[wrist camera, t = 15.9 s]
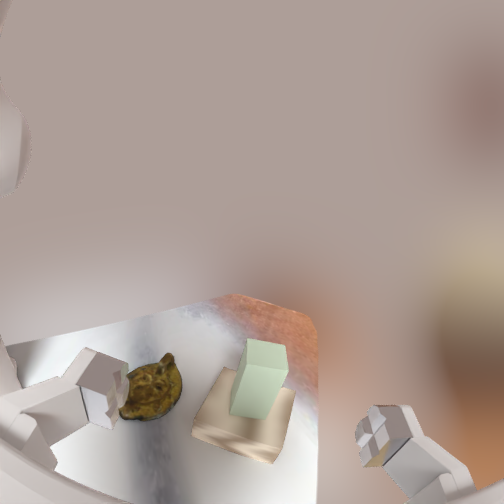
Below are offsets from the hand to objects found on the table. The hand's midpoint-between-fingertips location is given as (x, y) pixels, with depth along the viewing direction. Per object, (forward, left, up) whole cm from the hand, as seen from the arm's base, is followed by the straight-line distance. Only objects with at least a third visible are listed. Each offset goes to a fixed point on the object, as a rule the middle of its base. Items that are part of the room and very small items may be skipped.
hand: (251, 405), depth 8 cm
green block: (+5, +22, -25) cm, 34 cm away
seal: (-10, +24, -31) cm, 40 cm away
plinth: (+5, +22, -30) cm, 38 cm away
